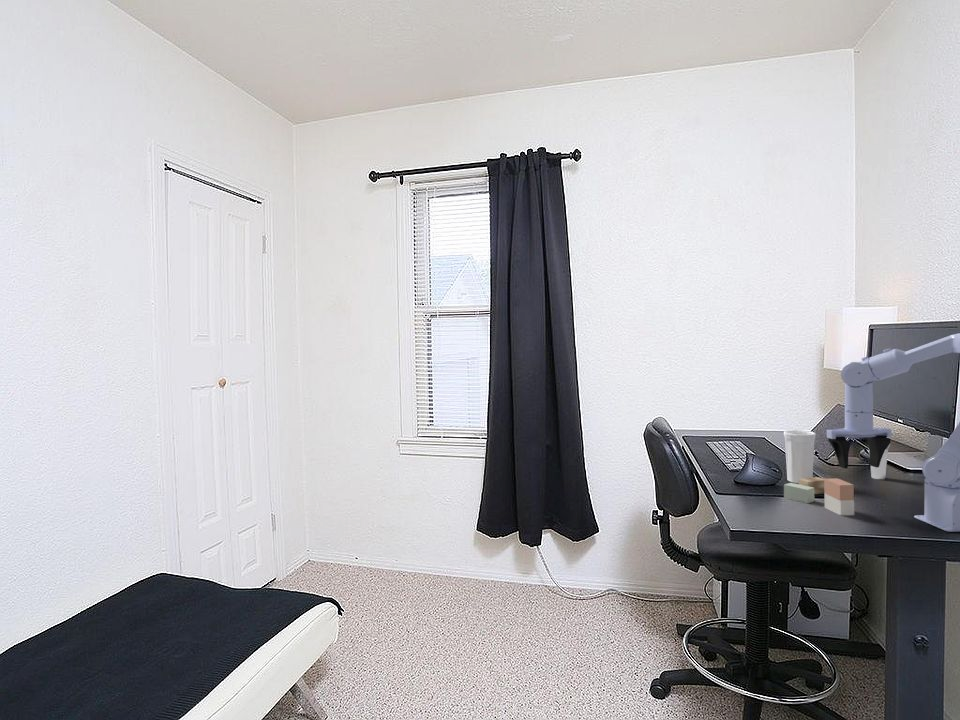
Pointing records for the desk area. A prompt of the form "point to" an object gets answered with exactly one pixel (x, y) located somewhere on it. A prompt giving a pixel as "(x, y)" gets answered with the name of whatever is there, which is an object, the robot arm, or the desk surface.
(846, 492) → the terracotta brick
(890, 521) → the desk surface
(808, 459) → the cup
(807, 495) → the sage brick
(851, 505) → the cream brick
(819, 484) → the oak brick
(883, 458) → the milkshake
